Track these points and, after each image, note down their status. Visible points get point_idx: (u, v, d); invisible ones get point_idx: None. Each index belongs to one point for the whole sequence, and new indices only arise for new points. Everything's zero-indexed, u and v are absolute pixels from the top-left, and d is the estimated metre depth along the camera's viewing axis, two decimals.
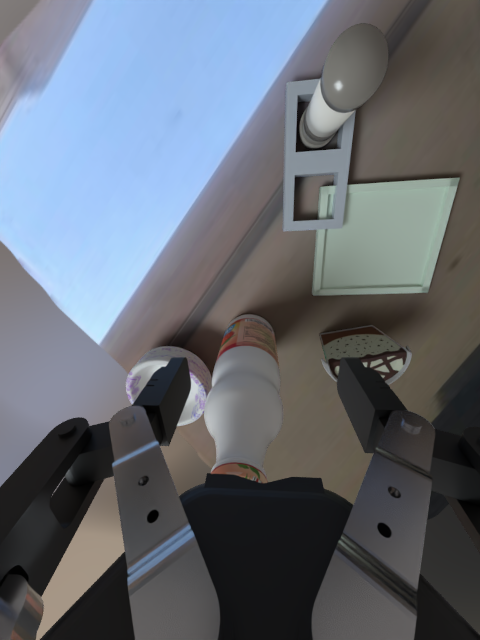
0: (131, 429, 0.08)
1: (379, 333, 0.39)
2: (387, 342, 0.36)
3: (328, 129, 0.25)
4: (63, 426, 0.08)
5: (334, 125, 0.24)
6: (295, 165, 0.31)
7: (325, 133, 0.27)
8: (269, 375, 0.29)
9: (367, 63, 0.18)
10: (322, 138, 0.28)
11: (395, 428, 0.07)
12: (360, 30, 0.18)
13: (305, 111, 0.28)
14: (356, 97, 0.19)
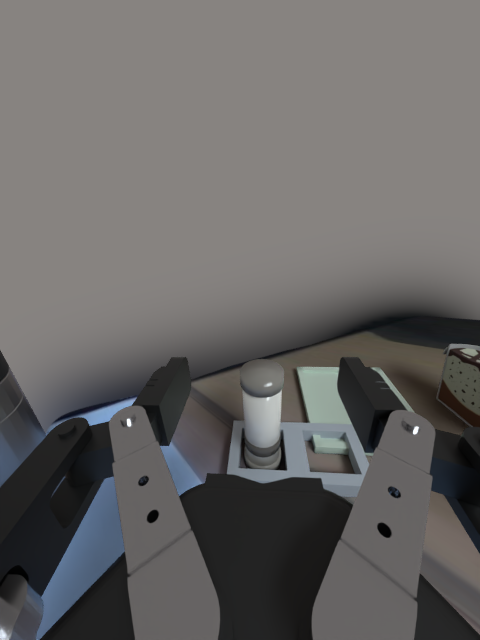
0: (131, 429, 0.08)
1: (443, 384, 0.38)
2: (450, 369, 0.36)
3: (280, 417, 0.28)
4: (63, 426, 0.08)
5: None
6: (300, 470, 0.27)
7: None
8: None
9: (260, 366, 0.26)
10: (280, 435, 0.29)
11: (395, 428, 0.07)
12: (243, 371, 0.26)
13: (256, 453, 0.28)
14: (279, 370, 0.26)
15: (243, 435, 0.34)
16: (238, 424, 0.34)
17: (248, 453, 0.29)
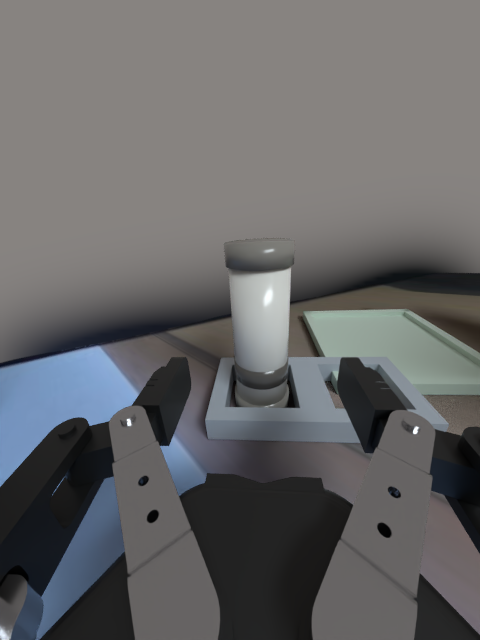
0: (131, 429, 0.08)
1: None
2: None
3: (288, 328, 0.18)
4: (63, 426, 0.08)
5: None
6: (319, 407, 0.18)
7: None
8: None
9: (257, 240, 0.17)
10: None
11: (395, 428, 0.07)
12: (229, 242, 0.16)
13: (252, 383, 0.18)
14: (286, 239, 0.16)
15: (234, 376, 0.24)
16: (227, 361, 0.24)
17: (240, 388, 0.19)
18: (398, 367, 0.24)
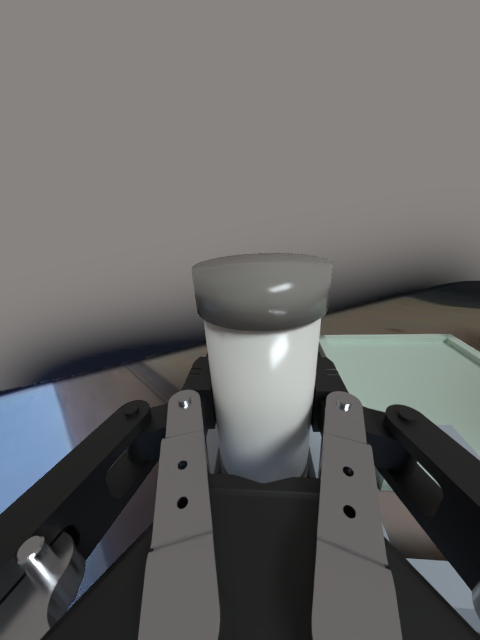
0: (185, 412, 0.08)
1: None
2: None
3: None
4: (129, 406, 0.09)
5: None
6: None
7: None
8: None
9: (257, 259, 0.09)
10: (307, 453, 0.12)
11: (328, 406, 0.08)
12: (204, 265, 0.08)
13: None
14: (313, 259, 0.08)
15: None
16: None
17: None
18: (466, 438, 0.16)
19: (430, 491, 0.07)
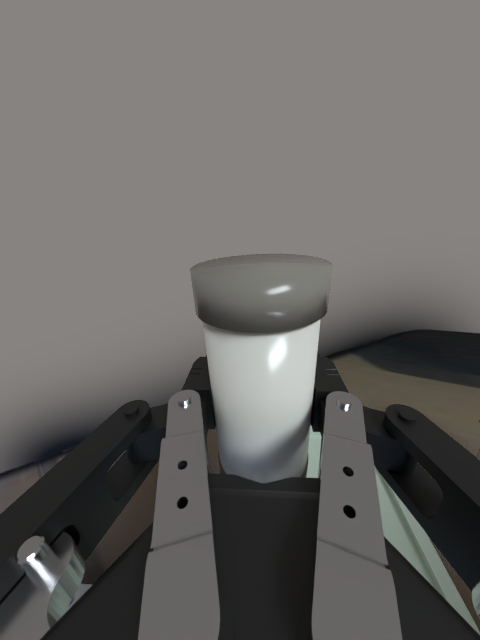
0: (185, 412, 0.08)
1: None
2: None
3: None
4: (129, 406, 0.09)
5: None
6: None
7: None
8: None
9: (256, 260, 0.09)
10: None
11: (328, 406, 0.08)
12: (203, 266, 0.08)
13: None
14: (312, 260, 0.08)
15: None
16: None
17: None
18: None
19: (430, 491, 0.07)
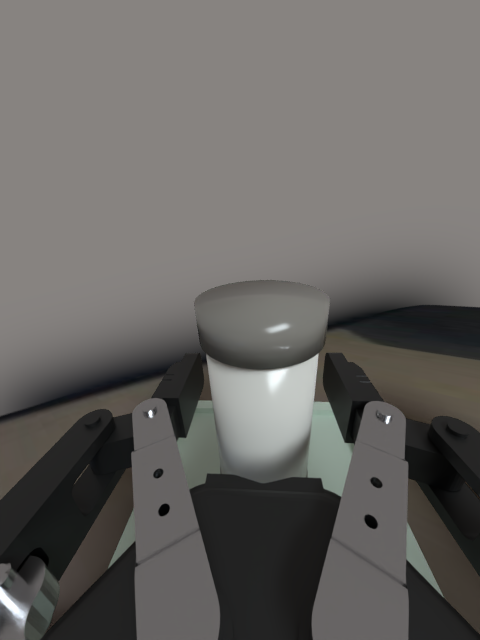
0: (152, 421, 0.08)
1: None
2: None
3: None
4: (89, 416, 0.08)
5: None
6: None
7: None
8: None
9: (257, 290, 0.09)
10: (306, 471, 0.12)
11: (368, 417, 0.08)
12: (206, 297, 0.09)
13: None
14: (311, 292, 0.09)
15: None
16: None
17: None
18: None
19: (477, 514, 0.07)
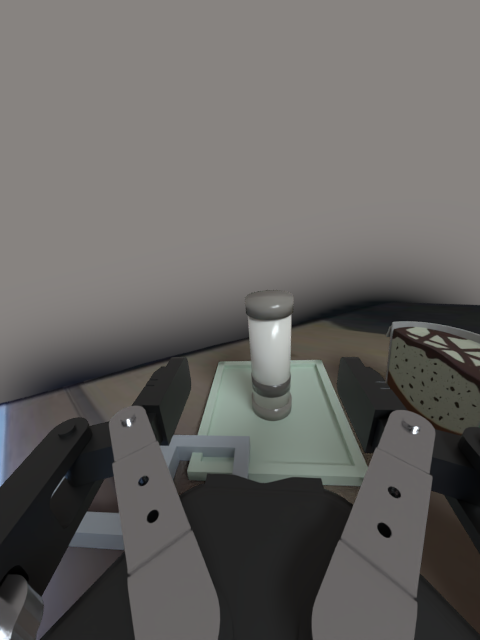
0: (131, 429, 0.08)
1: (389, 377, 0.28)
2: (395, 356, 0.27)
3: (290, 354, 0.26)
4: (63, 426, 0.08)
5: None
6: None
7: None
8: None
9: (267, 294, 0.24)
10: (290, 375, 0.27)
11: (395, 428, 0.07)
12: (248, 297, 0.24)
13: (265, 393, 0.26)
14: (287, 295, 0.23)
15: None
16: None
17: (256, 396, 0.27)
18: (264, 445, 0.24)
19: None
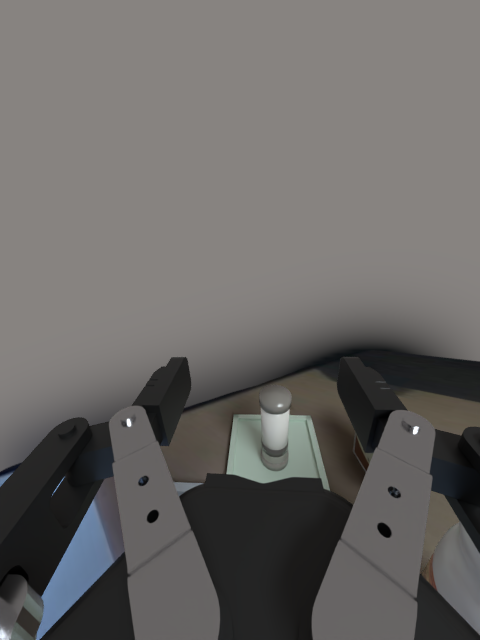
0: (131, 429, 0.08)
1: (356, 440, 0.41)
2: None
3: (288, 427, 0.38)
4: (63, 426, 0.08)
5: None
6: None
7: None
8: (457, 531, 0.19)
9: (274, 391, 0.36)
10: None
11: (395, 428, 0.07)
12: (261, 394, 0.36)
13: (270, 454, 0.38)
14: (287, 393, 0.36)
15: None
16: None
17: (264, 454, 0.39)
18: None
19: None
